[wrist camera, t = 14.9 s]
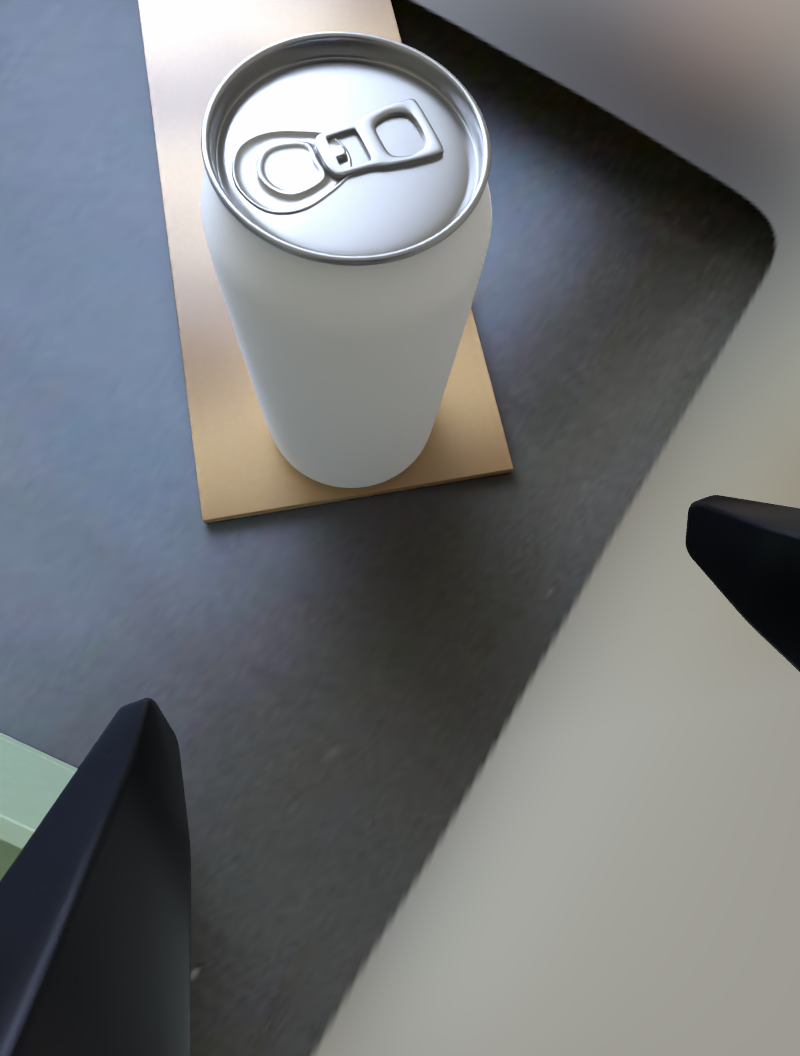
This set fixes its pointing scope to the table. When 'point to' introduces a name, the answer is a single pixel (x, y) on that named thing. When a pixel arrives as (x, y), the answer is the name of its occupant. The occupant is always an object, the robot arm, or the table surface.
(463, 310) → the can
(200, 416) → the tan flat long board
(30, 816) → the chest
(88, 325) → the table surface
